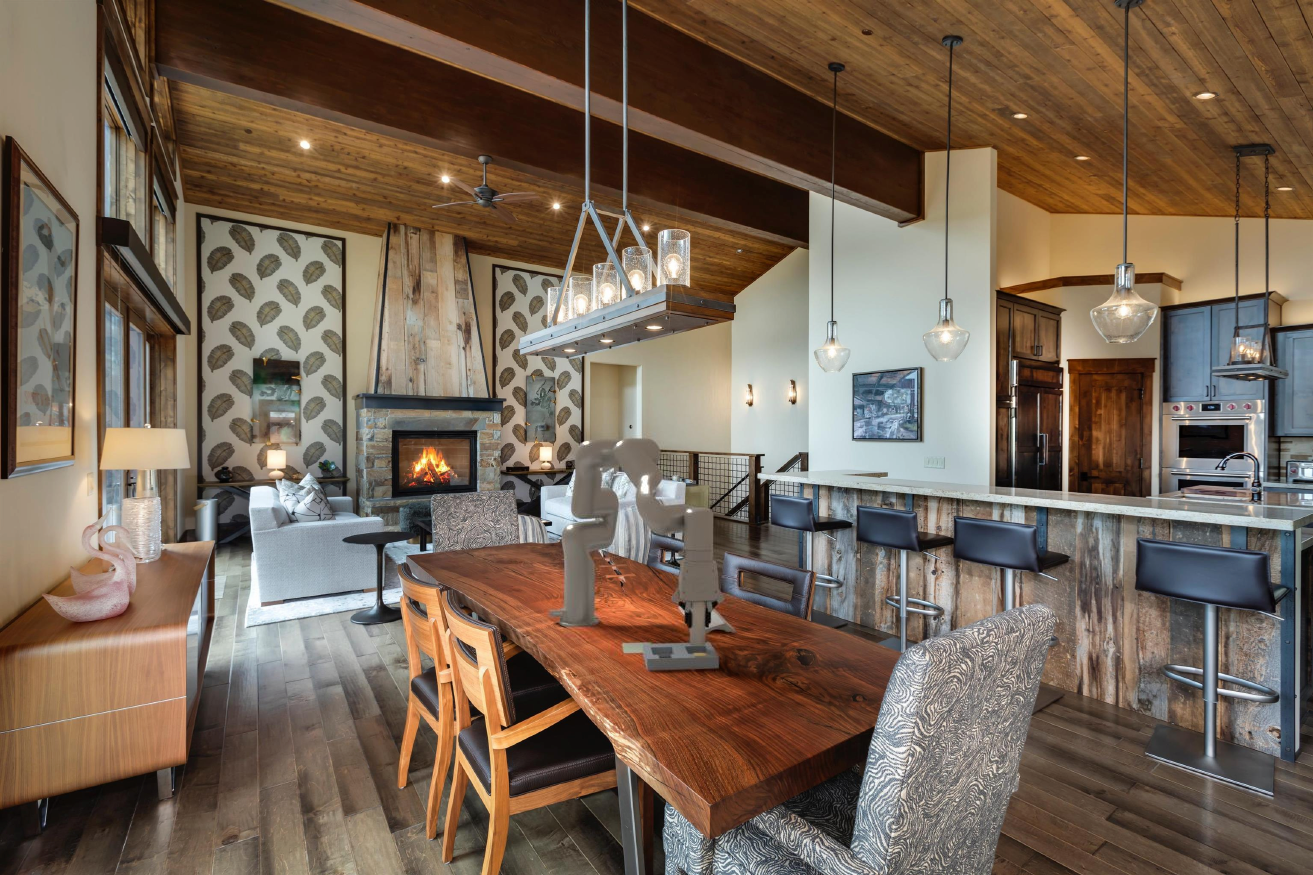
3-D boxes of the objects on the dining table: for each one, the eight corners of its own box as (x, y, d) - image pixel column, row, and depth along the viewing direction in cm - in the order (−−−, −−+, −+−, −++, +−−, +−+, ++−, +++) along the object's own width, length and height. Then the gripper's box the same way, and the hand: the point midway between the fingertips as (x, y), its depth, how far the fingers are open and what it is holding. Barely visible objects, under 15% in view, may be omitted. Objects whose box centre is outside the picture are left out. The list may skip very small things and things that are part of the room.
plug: (690, 646, 159) (691, 595, 159) (688, 640, 163) (688, 591, 163) (707, 645, 159) (707, 595, 159) (704, 640, 164) (704, 590, 164)
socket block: (647, 674, 154) (647, 657, 154) (642, 659, 165) (643, 642, 165) (718, 672, 156) (718, 655, 156) (709, 657, 167) (709, 641, 167)
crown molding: (677, 609, 215) (678, 598, 215) (712, 607, 218) (712, 597, 218) (698, 636, 187) (699, 624, 187) (738, 634, 189) (738, 622, 189)
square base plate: (623, 657, 166) (623, 653, 166) (621, 647, 174) (621, 643, 174) (653, 656, 167) (653, 652, 167) (650, 646, 175) (650, 642, 175)
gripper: (668, 558, 157) (667, 631, 157) (733, 558, 159) (732, 630, 159) (664, 553, 164) (663, 622, 164) (726, 552, 166) (726, 621, 166)
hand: (697, 625), depth 161 cm, fingers closed on plug, 4 cm apart
